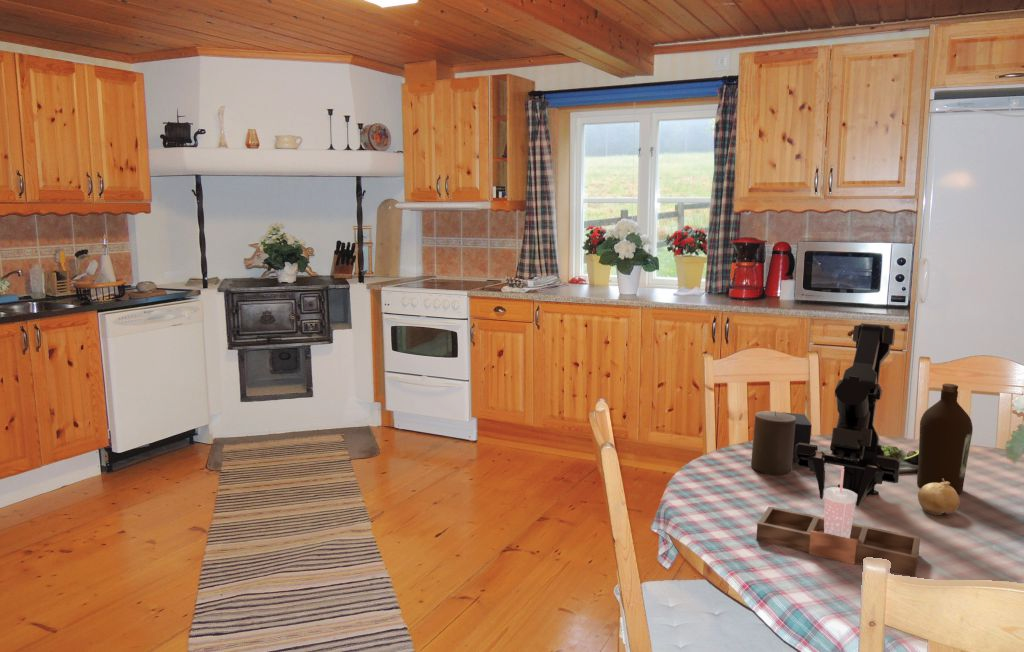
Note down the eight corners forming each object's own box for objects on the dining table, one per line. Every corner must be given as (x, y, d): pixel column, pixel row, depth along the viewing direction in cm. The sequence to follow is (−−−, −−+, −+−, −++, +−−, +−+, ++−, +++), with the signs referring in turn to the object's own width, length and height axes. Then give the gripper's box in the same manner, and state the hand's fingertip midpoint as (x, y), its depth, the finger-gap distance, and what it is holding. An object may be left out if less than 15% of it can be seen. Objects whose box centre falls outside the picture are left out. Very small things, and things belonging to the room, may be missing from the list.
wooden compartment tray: (755, 541, 151) (756, 520, 150) (767, 522, 160) (769, 501, 159) (915, 578, 136) (917, 554, 136) (918, 554, 146) (920, 532, 145)
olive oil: (913, 491, 177) (924, 387, 173) (914, 477, 186) (924, 377, 182) (966, 500, 172) (978, 393, 168) (964, 485, 181) (976, 383, 177)
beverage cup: (847, 530, 151) (854, 463, 148) (858, 545, 145) (865, 475, 142) (815, 529, 152) (821, 462, 149) (824, 543, 146) (831, 473, 143)
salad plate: (872, 478, 186) (874, 460, 185) (831, 454, 204) (832, 438, 203) (943, 474, 189) (945, 457, 188) (896, 451, 207) (898, 435, 206)
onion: (957, 522, 161) (960, 490, 159) (914, 514, 165) (917, 482, 164) (958, 509, 167) (962, 479, 166) (918, 501, 171) (921, 471, 170)
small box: (810, 464, 195) (813, 424, 194) (783, 462, 197) (786, 422, 195) (803, 450, 206) (805, 413, 204) (777, 449, 207) (780, 411, 205)
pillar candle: (764, 476, 186) (769, 417, 183) (743, 463, 195) (748, 406, 193) (799, 474, 188) (805, 415, 186) (777, 460, 198) (782, 404, 195)
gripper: (799, 403, 152) (783, 473, 145) (903, 417, 143) (893, 493, 135) (803, 431, 160) (789, 498, 153) (903, 446, 151) (893, 519, 143)
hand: (839, 501), depth 146 cm, fingers closed on beverage cup, 6 cm apart
